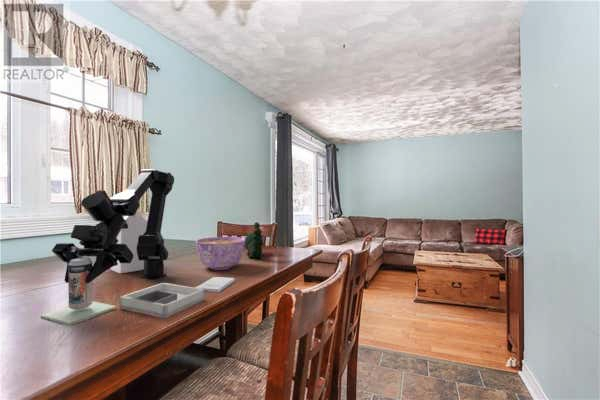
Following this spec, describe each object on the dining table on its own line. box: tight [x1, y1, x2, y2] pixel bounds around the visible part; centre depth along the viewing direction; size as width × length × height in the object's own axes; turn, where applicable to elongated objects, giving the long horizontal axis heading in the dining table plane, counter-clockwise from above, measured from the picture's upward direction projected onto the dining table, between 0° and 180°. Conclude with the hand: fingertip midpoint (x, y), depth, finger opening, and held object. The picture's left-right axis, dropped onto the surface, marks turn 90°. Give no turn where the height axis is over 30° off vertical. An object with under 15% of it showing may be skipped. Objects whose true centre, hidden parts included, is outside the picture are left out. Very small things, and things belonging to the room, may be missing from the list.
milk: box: [109, 211, 148, 274], centre depth 119 cm, size 12×12×26 cm
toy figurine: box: [244, 221, 264, 259], centre depth 144 cm, size 9×19×25 cm
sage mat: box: [40, 300, 117, 326], centre depth 73 cm, size 11×11×1 cm
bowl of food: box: [195, 236, 245, 271], centre depth 121 cm, size 20×20×12 cm
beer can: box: [67, 257, 93, 310], centre depth 73 cm, size 5×5×12 cm
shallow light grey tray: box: [118, 282, 206, 319], centre depth 80 cm, size 16×14×3 cm
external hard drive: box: [195, 276, 236, 293], centre depth 97 cm, size 2×8×12 cm
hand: (76, 282), depth 72 cm, fingers closed on beer can, 5 cm apart
